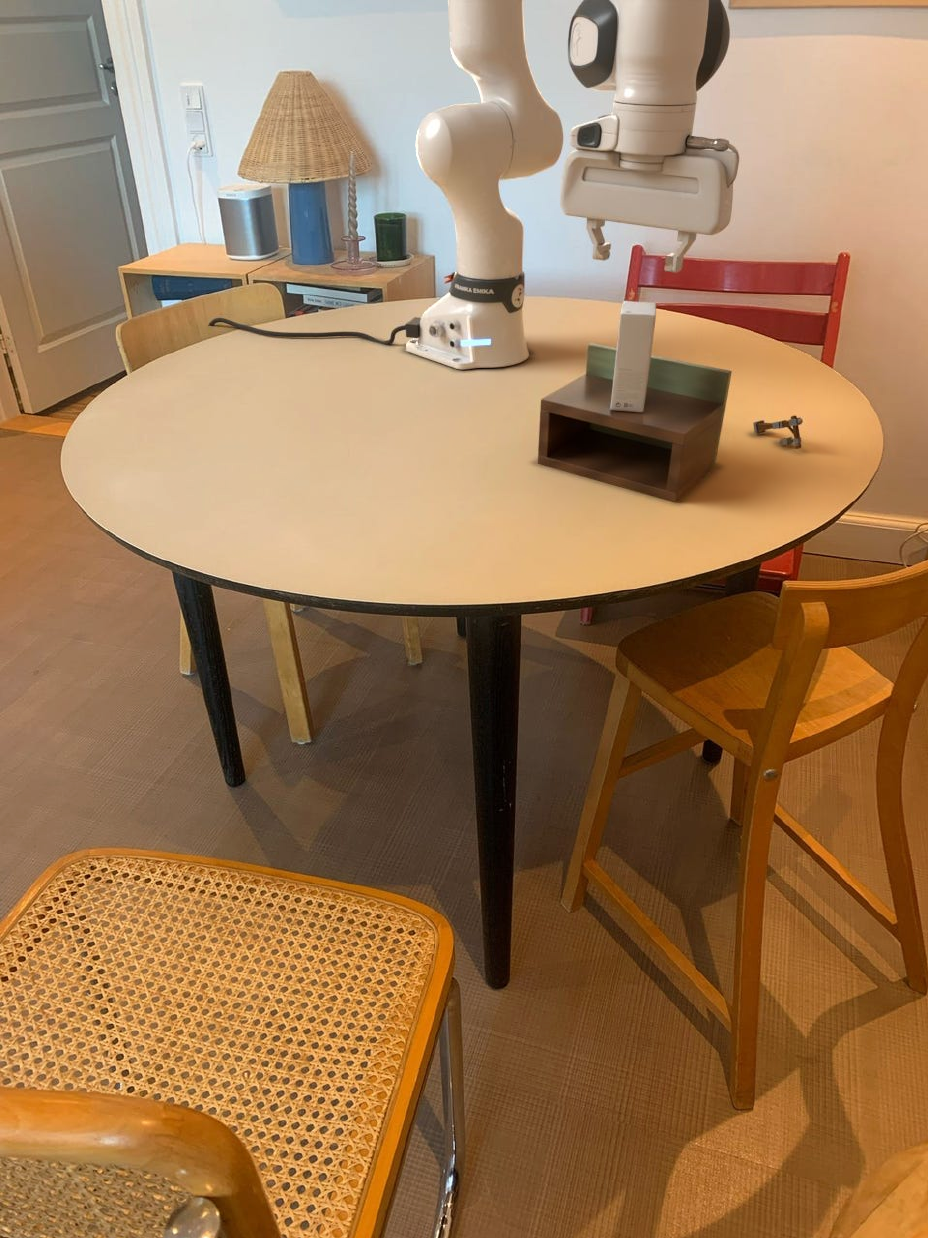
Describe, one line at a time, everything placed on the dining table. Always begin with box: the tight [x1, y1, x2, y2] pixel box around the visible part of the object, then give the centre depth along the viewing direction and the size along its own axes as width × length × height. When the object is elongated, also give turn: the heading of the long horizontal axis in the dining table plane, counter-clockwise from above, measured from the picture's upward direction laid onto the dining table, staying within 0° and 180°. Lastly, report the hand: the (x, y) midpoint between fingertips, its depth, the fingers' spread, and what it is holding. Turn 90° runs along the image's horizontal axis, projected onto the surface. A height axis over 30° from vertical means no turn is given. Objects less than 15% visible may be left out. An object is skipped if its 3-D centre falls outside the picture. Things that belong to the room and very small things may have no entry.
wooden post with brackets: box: [752, 415, 804, 450], centre depth 122 cm, size 2×8×4 cm, turn 29°
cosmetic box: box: [610, 300, 657, 412], centre depth 107 cm, size 6×4×12 cm
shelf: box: [537, 342, 733, 503], centre depth 113 cm, size 20×13×13 cm, turn 55°
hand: (636, 264), depth 103 cm, fingers open, 8 cm apart
